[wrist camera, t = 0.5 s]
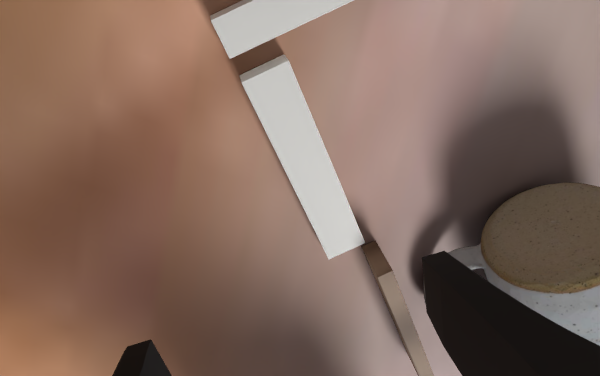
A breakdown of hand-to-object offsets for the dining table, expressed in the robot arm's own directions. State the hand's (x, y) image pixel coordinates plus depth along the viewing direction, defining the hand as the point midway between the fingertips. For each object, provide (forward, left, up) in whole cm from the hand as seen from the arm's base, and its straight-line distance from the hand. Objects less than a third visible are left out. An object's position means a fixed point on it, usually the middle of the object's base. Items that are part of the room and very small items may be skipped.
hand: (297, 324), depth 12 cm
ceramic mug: (-12, -10, -10) cm, 19 cm away
